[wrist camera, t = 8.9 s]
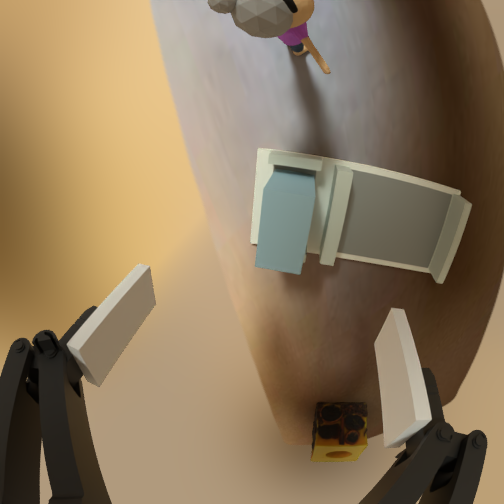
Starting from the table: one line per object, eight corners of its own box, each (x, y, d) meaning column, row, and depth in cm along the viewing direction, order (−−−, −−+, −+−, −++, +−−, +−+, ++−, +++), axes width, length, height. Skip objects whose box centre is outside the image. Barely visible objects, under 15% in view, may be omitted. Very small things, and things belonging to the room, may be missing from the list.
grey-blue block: (275, 168, 28) (263, 188, 21) (314, 174, 27) (315, 197, 20) (268, 229, 31) (254, 266, 24) (303, 235, 31) (300, 274, 24)
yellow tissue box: (317, 401, 47) (313, 445, 38) (367, 401, 45) (369, 445, 36) (312, 423, 51) (308, 462, 43) (356, 423, 49) (356, 461, 41)
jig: (259, 147, 28) (252, 152, 25) (458, 190, 24) (473, 199, 21) (251, 240, 33) (244, 255, 30) (431, 271, 30) (441, 287, 27)
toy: (338, 79, 23) (366, 45, 10) (291, 103, 25) (272, 91, 12) (281, 4, 19) (253, -73, 6) (237, 28, 21) (173, -30, 9)
